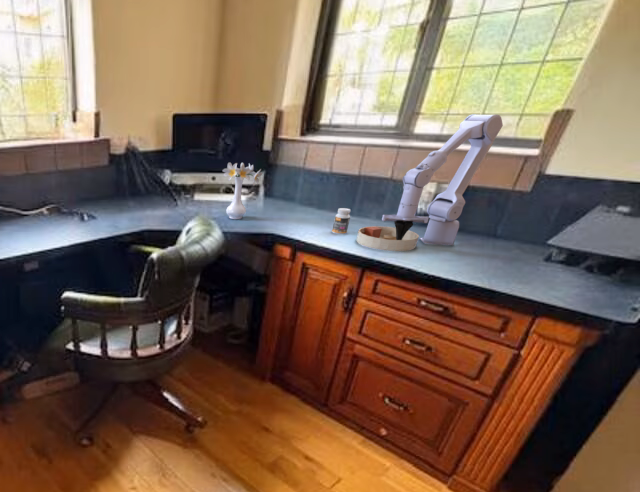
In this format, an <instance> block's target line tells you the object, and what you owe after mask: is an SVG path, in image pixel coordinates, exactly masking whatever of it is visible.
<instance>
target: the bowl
mask: <svg viewBox="0 0 640 492" xmlns="http://www.w3.org/2000/svg"><path fill="white" fill-rule="evenodd" d="M366 227H367V226H365V227H361V228H359V229H358V231H357V234H356V235H357V236H356V239H355V241H356V243H357V244H359V245H361V246H363V247H366V248H370V249H374V250H378V251H390V252H405V251H406V252H407V251H412V250H414V249H415V248H416V247H417V244H418V241H419V239H420V235H419V234H418V233H417V232H415V231H413V230H410V229H409V230H408V231H407V232H406V234H405V235H404V237H403V238H402V240H388V239H383V236H384V235H387V236H393V237H396V227H395V226H394V227H393V226H381V225H380V226H379V225H374V227H378V228H381V229H382V230H381V234H380V237H379V238H375V237H371V236H367V235H365V234H364V233H365V229H366ZM370 227H373V225H371V226H370Z"/></svg>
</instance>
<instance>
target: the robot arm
mask: <svg viewBox="0 0 640 492" xmlns="http://www.w3.org/2000/svg"><path fill="white" fill-rule="evenodd" d="M503 126H504V124H503V118H502V116H501V115H500V114H476V113H473V114H469V115H468V116H467V117H465V118H464V119H463V120H462V122H460V124H459V127H458V129H457V130H456V131H455V132H454V134H453V135H452V136H451V137H449V139H448V140H447V141H446V142H445V143H444V144H443V145H442V146H441V148H439V149H438V150H432V151H430V153H428V154H427V156H426V157H425V158H424V159H423V160H422V161H421V162H419V164H417V165H416V166H415V167H414V168H411V169H409V170H408V171H406V172H405V174H404V176H402V183H403V186H402V188H403V192H402V195H401V199H400V202H399V205H398V208H397V212H396V214H382V218H381V221H382V222H394V228H396V239H397V240H402V238H403V237H404V235H405V234H406V232H407V231H408V230H409V231H410V229H411V228H412V227H413V225H414V223H423V224H427V226H426V229H425V233H424V235H423V237H419V239H420V240H421V241H422V242H423V243H424V244H425V245H426V244H427V245H442V246H454V243H455V240H456V238H457V234H458V232H459V229H460V221H459V220H457V219H458V218H459V217H460V216H461V215H462V212H463V208H464V206H465V204H466V200H465V198H464V196H463V195H464V194H465V191H466V189H467V188H468V186H469V184H470V183H471V181H472V180H473V178H474V176H475V174H476V173H477V171H478V169H479V168H480V167H481V165H482V163H483V161H484V159H485V158H486V156H487V154H488V153H489V151H490V149H492V148H491V147H492V146H493V144H494V142H495V140H496V139H497V136H498V134H500V131H501V129H502V128H503ZM467 141H468V142H469V144H470V148H469V150H468V151H467V153H466V154H465V157H464V158H463V160H462V161H461V163H460V165H459V167H458V168H457V170H456V172H455V174H454V175H453V176H452V178H451V180H450V182H449V184H448V185H447V187H446V189H445V190H444V191H441V192H440V193H438V194H437V195H436V196H435V198H434V199H433V200H432V201H431V202H430V203H429V204H428V207H427V209H426V210H427V211H426V213H427V214H428V216H422V215H416V213H417V210H418V207H419V204H420V200H421V197H422V194H423V191H424V188H425V187H426V186H427V185H428V184H429V183H430V182H431V180H432V177H433V176H434V174H435V173H436V172H437V171H438V170H439V169H441V167H443V165H444V164H445V163H447V160H448V156H450V155H451V154H452V153H453V152H454V151H456V150H457V149H458V148H459V147H461V146H462V145H463V144H464V143H465V142H467Z"/></svg>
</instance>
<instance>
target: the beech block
mask: <svg viewBox="0 0 640 492" xmlns="http://www.w3.org/2000/svg"><path fill="white" fill-rule="evenodd" d="M383 239H388V240H397V239H396V237H393V236H387V235H384V236H383Z"/></svg>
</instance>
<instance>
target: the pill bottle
mask: <svg viewBox="0 0 640 492" xmlns="http://www.w3.org/2000/svg"><path fill="white" fill-rule="evenodd" d="M351 212H352V211H351V209H350V208H346V207H339V208H338V209H337V213H336V214H335V216H334V220H333V225H332V229H331V232H332V233H333V234H339V235H344V234H347V232H348V229H349V224H350V220H351V215H350V213H351Z"/></svg>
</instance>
